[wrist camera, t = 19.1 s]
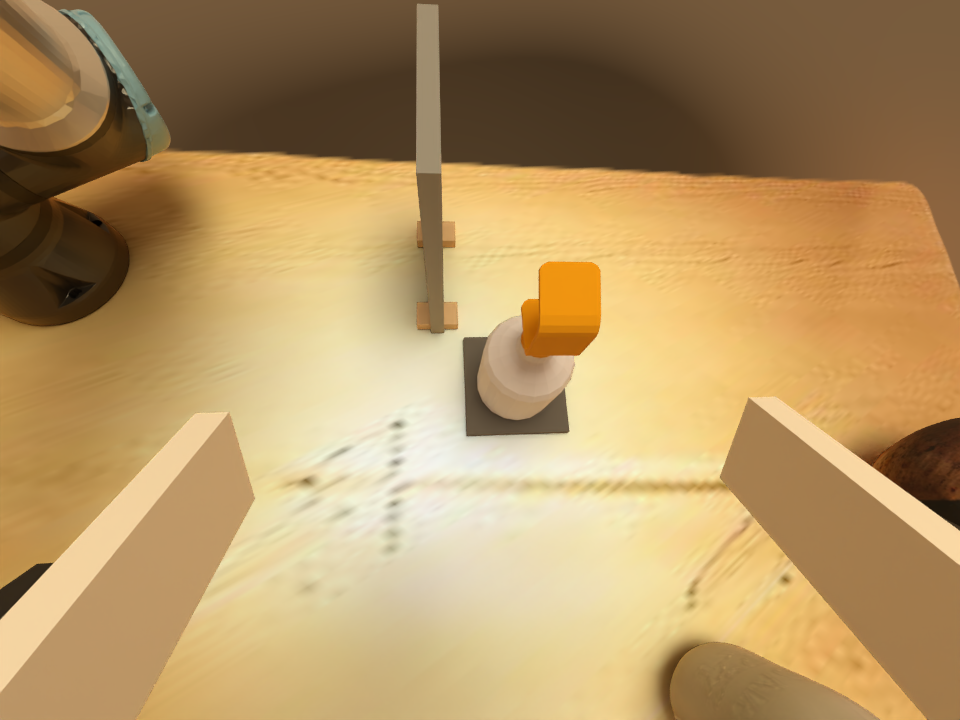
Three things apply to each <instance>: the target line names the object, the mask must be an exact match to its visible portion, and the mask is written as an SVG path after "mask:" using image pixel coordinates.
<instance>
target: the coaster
mask: <svg viewBox="0 0 960 720" xmlns="http://www.w3.org/2000/svg"><path fill="white" fill-rule="evenodd" d="M487 339H488V337H469V338H464V340H463V341H464V370H465V399H466V428H467V436H480V435H509V434H538V433H567V432H569V424H568V415H567V406H566V397H565V388H564V389H563V391H562V392H561V393H560V394H559V395H558V396H557V397H556V398H555V399H553V400H552V401H551V402H550V403H549V404H548V405H547V406H546V407H545V408H544V409H543V410H542V411H540V412H539V413H537V414H536V415H534V416H532V417H531V418H527V419H521V420H512V419H506V418H502V417H501V416H499V415H497V414H495V413H493V412H492V411H491V410H490V409H489V408H488V407H487V406H486V405H485V404H484V403H483V401H482V399H481V396H480V394H479V391H478V386H477V375H478V371H479V367H480V363H481V359H482V355H483V351H484V348H485V345H486V342H487Z"/></svg>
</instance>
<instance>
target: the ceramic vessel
mask: <svg viewBox="0 0 960 720" xmlns="http://www.w3.org/2000/svg"><path fill="white" fill-rule="evenodd" d="M872 467H873V468H874V469H876V470H877V471H878V472H880V473H881V474H883V475H884V476H885V477H887V478H888V479H889V480H891V481H892V482H893V483H895V484H896V485H898V486H899V487H900V488H902V489H903V490H904V491H906V492H907V493H909V494H910V495H911V496H913V497H914V498H915V499H917V500H918V501H920V502H921V503H922V504H924V505H925V506H926V507H928V508H929V509H931V510H932V511H933V512H935V513H936V514H937V515H939V516H941V517H943V518H945V519H947V520H948V521H950V522H952V523H954V524H956V525H958V526H960V418H955V419H950V420H946V421H943V422H940V423H937V424H933V425H931V426H928V427H925V428H923V429H921V430H918V431H916V432H914V433H912V434H910V435H908V436H907V437H905V438H903V439H902V440H900V441H898V442H897V443H895V444H894V445H893V446H891V447H890V448H888V449H887V450H886V451H885V452H883V453H882V454H881V455H880V456H879V457H878V459H877V460H876V462H875V463H874V464H873V466H872Z"/></svg>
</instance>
